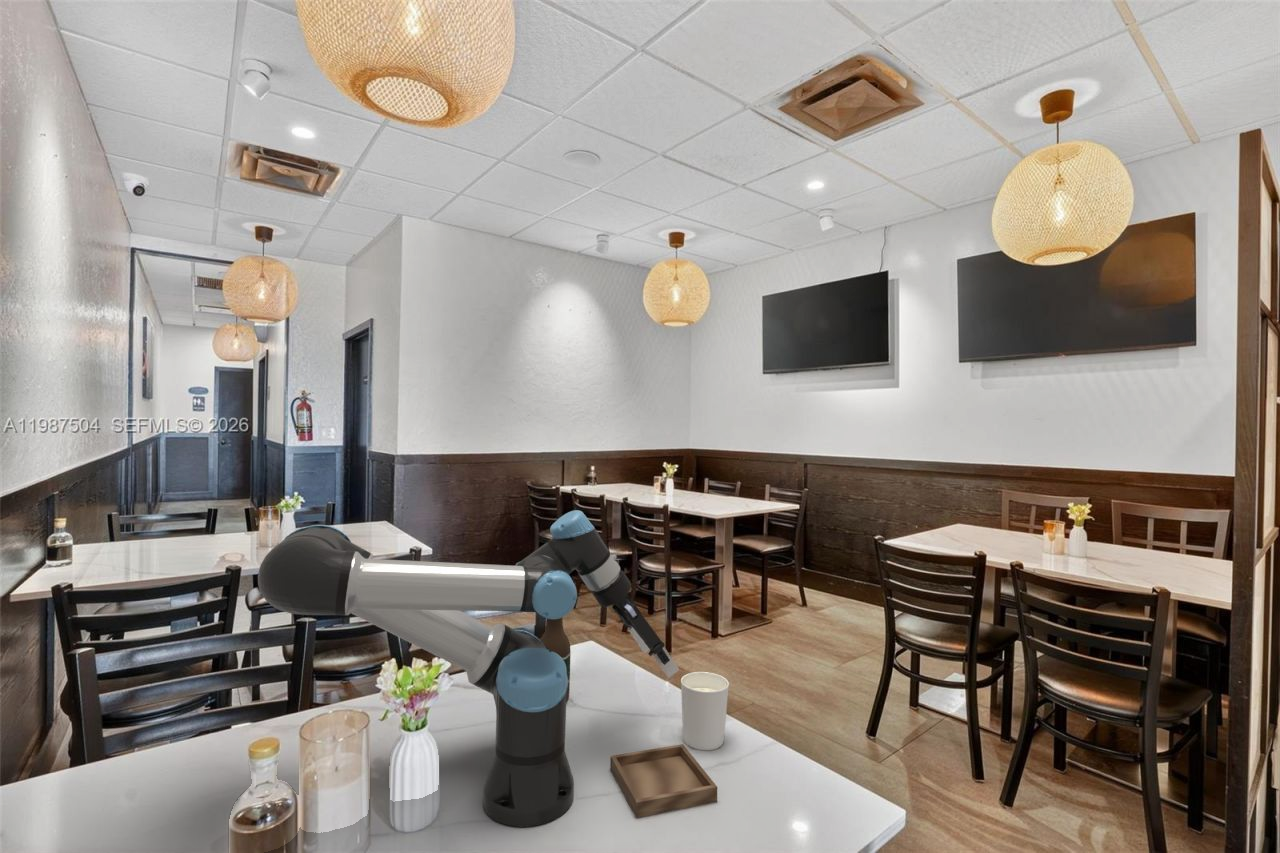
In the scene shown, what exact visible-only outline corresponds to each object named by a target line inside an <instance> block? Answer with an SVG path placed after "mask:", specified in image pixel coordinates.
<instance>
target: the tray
mask: <svg viewBox="0 0 1280 853" xmlns="http://www.w3.org/2000/svg"><path fill="white" fill-rule="evenodd" d="M609 761H610V762H609V764H610V767H609V769H610V772H611V774H612V775H613V777H614V779H615V781H616V782H617V785H618V786H619V788H620V790H621V792H622V794H623V796H624V798H625V799H626V801H627V803H628V805H629V807H630V809H631V811H632V812H633V815H634V816H635V818H636V819H638V818H642V817H643V818H644V817H647V816H648V817H649V816H653V815H658V814H663V812H664V813H669V812H674V811H678V810H684V809H688V808H693V807H697V806H703V805H708V804H713V803H716V802H718V786H717V785H716V783H715V782H714V781H713V779H712V778H711V777H710V776H709V774H708V773H707V772H706V771H705V769H704V768H703V767H702V766H701V765H700V764H699V762H698V761H697V760H696V758H695V757H694V756H693V754H691V753H690V751H689V750H688V749H687V747H686V746H685V745H684V743H680V744H676V745H675V744H674V745H668V746H663V747H657V748H650V749H645V750H638V751H632V752H626V753H620V754H615V755H610V760H609ZM673 810H674V811H673ZM668 811H669V812H668Z"/></svg>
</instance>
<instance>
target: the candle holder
mask: <svg viewBox="0 0 1280 853" xmlns="http://www.w3.org/2000/svg"><path fill="white" fill-rule="evenodd" d="M680 686H681V687H680V688H681V691H680V692H681V716H682V718H681V720H682V721H681V722H682V725H681V726H682V739H683V741H684V743H685V744H686V745H687V746H688V745H689V747H690V748H692V749H695V750H698V751H699V750H700V751H713V750H717V749H720V747H722V746H723V744H724V741H725V734H726V733H725V732H726V723H727V722H726V720H727V710H728V709H727V707H728V697H729V696H728V694H729V687H730V683H729V681H728V679H727V678H726V677H724V676H722V675H720V674H717V673H714V672H706V671H695V672H694V671H693V672H689V673H687V674H685V675H682V677H681V679H680Z"/></svg>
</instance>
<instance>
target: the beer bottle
mask: <svg viewBox="0 0 1280 853" xmlns="http://www.w3.org/2000/svg"><path fill="white" fill-rule="evenodd" d="M563 618H564V617H562V618H559V619H548V618H546V621H545V622H546V624H545V629H544V632H543V634H542V635H541V637H540V638H539V640H540V641H541V642H542V643H543V644H544V646H545V648H546V649H547V650H549V652H555V653H556V654H558V655H559V656H560V657H561V658H562V659H563V660H564V662H565V665H566V669H567V676H568V687H567V695H566V703H567V702H568V701H569V699H570V687H571V686H570V683H571V682H570V681H571V653H572V652H571V644H570V639H569V637H568V636H567V634H566V632H565V631H564V625H563V624H564V623H563V622H564V621H563Z"/></svg>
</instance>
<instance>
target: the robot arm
mask: <svg viewBox="0 0 1280 853" xmlns="http://www.w3.org/2000/svg"><path fill="white" fill-rule="evenodd" d="M549 529H550V530H549V532H550V533H551V537H552V538H550V539H549V540H548V541H547V542H546V543H544V544H543V545H541V546H540V547H539V548H537V549H536V550H534V551H533V552H532V553H530V554H529V555H528V556H526V557H524V558H523V559H521V561H518V562H517V563H515V565H509V564H507V565H505V564H488V563H487V564H486V563H485V564H484V563H465V562H463V563H462V562H445V561H444V562H443V561H441V562H440V561H425V560H424V561H423V560H421V561H419V560H403V559H402V560H401V559H399V560H398V559H384V558H383V559H380V558H379V559H378V558H374V554H373V553H371V552H370V551H367V550H366V549H364V548H363V547H360V546H359V545H357V544H355V543H354V542H352V541H351V539H350V538H349V537H348V535H347V534H345V533H344V532H343V531H342V530H340V529H338V528H336V527H334V526H331V525H327V524H314V525H313V524H312V525H308V526H304V527H300V528H298V529H296V530H294V531H293V532H291V533H289V534H288V535H286V536H285V538H284V539H283V540H282V541H281V542H280V543H278V544H276V545H275V546H273V547H272V549H271V550H269V552H267V554H266V555H265V556H264V558H263V559H262V562H261V563H260V566H259V569H258V573H257V584H258V589H259V591H260V593H261V595H262V598H264V600H265V601H266V603H268V604H270V606H272V608H275V609H277V610H278V611H281V612H284V613H289V614H294V615H303V616H304V615H306V616H310V615H311V616H349V615H350V614H352V615H354V616H356V617H357V618H360V619H362V620H364V621H366V622H368V623H369V624H372V625H374V626H376V627H377V628H380V629H382V630H384V631H386V632H388V633H389V634H392V635H394V636H395V637H398V638H400V639H402V640H404V641H406V642H408V643H409V644H412V645H414V646H416V647H418V648H420V649H422V650H423V651H426V652H428V653H430V654H432V655H434V656H435V657H437V658H440V659H442V660H443V661H446V662H448V663H450V664H451V665H454V666H456V667H458V668H460V669H462V670H464V671H465V673H466V676H467V680H468V683H469V684H472V685H473V686H475V687H477V688H479V689H482V690H484V691H485V692H488V693H490V694H491V695H492V696H493V699H494V704H495V712H496V718H495V719H496V722H495V726H496V727H495V749H494V750H495V751H494V752H495V754H494V757H493V759H492V763H491V765H490V767H489V768H490V769H489V772H488V773H487V777H486V780H485V782H484V785H483V793H482V794H483V795H482V796H483V798H482V800H483V801H482V805H483V810H484V812H485V813H486V814H487V815H488V816H489V817H490V818H491V819H493V820H494V821H495V822H498V823H500V824H503V825H507V826H511V827H512V826H513V827H521V828H522V827H533V826H535V827H536V826H538V825H539V826H540V825H542V824H543V825H544V824H546V823H549V822H551V821H554V820H555V819H558V818H559V817H561V816H562V815H564V814H565V813H566V812H567V811H568V810H569V808H570V807H571V805H573V804H572V803H573V802H574V798H575V797H574V795H575V780H574V777H573V773H572V770H571V767H570V763H569V760H568V756H567V753H566V727H567V725H566V722H567V720H566V719H567V702H566V695H567V687H568V676H567V669H566V665H565V662H564V660H563V659H562V658H561V657H560V656H559V655H558V654H556V653H555V652H549V650H547V649H546V648H545V646H544V644H543V643H542V642H541V641H540V638H538V636H536V635H534V634H533V633H531V632H529V631H527V630H523V629H513V628H511V627H510V626H507V625H506V624H504V623H497V624H495V625H494V624H493V625H492V626H491V625H490V626H489V625H488V624H485V623H484V622H482V621H481V620H478V619H476V618H474V617H473V616H471V615H469V614H467V613H465V612H466V611H467V612H469V611H470V612H510V613H511V612H517V613H521V612H522V613H537V614H538V615H539V616H541V617H542V618H545V619H547V618H548V619H559V618H564V617H565V616H567V615H569V614H570V613H571V612H572V611H573V609H574V607H575V605H576V603H577V599H578V592H577V587H576V584H575V583H574V581H573V579H572V577H571V576H570V574H571V573H572V572H573V571H574V570H576V571H577V574H578V575H579V577H580V578H581V580H582V582H583V583H584V584H585V585H586V587H587V589H588V590H589V591H591V594H592V596H593V597H594V598H595V600H596V602H598V604H599V606H601V607H604V608H608V607H611V609H612V610H613V611H614V613H615V614H616V615H617V616H618V618H619V620H620V622H621V623H622V624H624V626H625V628H627V630H628V631H629V633H630V635H631V636H632V638H633V640H635V643H637V645H638V647H639V649H641V651H642V652H643V654H646V653H647V652H648V655H649V657H651V656H653V659H654V660H655V662H657V664H658V666H659V667H660V668H661V670H662V671H663V673H664V675H665V676H666V677H667V678H668V679H670V678H671V677H672V676H674V675H675V674H676V673H677V672H678V671H680V668H679V667H678V665H677V664H676V662H675V661H674V659H673V657H672V656H671V654H670V653H669V652H668V650H667V649H666V647H665V643H664V641H662V640H661V638H660V637H659V636H658V634H657V633H656V631H655V630H654V629H653V628H652V626H651V625H650V624H649V623H648V621H647V620H646V618H645V617H644V616H643V614H642V613H643V612H641V610H640V609H639V608H638V607H637V604H636V602H635V601H634V600H633V598H632V597H630V596H629V595H628V594H629V592H630V590H631V588H632V583H631V581H630V580H629V578H628V576H627V574H626V573H625V572H624V571H623V570H621V566H620V565H619V563H618V562H617V561H616V559H617V554H615V553H614V554H612V553H611V551H610V549H608V547H607V545H606V543H605V542H604V541H603V539H602V538H601V536H600V534H599V533H598V531H597V530H596V528H595V526H594V525H593V524H592V522H590V520H589V519H588V517H587V516H586V514H584V512H583V511H581V510H578V509H577V510H571V511H569V512H567V513H565V514H563V515H561V517H559V518H558V519H557V520H555V522H554V523H552V525H551V526H550V528H549ZM463 611H465V612H463Z"/></svg>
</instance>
